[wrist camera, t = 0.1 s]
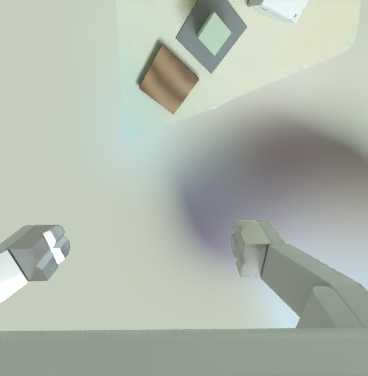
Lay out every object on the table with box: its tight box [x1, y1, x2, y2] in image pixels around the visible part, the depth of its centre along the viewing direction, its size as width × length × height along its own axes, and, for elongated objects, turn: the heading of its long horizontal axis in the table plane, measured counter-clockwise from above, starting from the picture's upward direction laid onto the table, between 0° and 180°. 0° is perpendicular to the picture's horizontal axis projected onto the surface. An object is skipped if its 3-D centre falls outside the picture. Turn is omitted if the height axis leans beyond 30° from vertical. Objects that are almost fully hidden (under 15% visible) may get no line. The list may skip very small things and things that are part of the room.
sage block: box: [196, 12, 231, 56], centre depth 40 cm, size 5×5×7 cm
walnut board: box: [139, 45, 199, 115], centre depth 49 cm, size 12×12×2 cm
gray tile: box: [176, 0, 247, 74], centre depth 42 cm, size 12×12×1 cm
